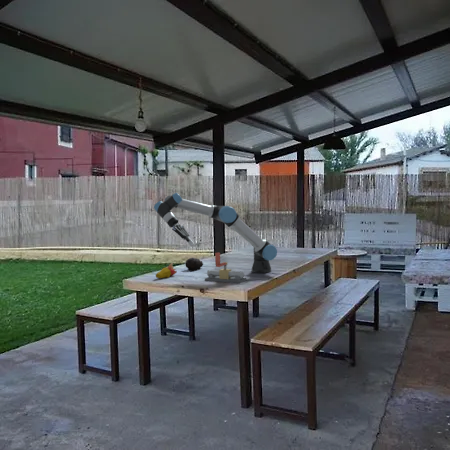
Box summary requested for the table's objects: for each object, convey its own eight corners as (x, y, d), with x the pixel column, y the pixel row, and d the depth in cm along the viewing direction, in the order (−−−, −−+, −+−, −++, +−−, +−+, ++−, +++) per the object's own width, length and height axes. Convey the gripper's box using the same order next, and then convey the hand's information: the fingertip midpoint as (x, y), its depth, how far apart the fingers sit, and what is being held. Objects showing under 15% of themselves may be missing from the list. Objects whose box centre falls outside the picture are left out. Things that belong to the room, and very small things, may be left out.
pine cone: (204, 268, 396) (204, 256, 396) (195, 271, 380) (194, 258, 379) (193, 267, 400) (193, 255, 400) (183, 270, 384) (183, 258, 383)
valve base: (212, 278, 347) (211, 263, 347) (246, 280, 337) (245, 264, 336) (204, 280, 336) (204, 265, 336) (239, 282, 326) (239, 267, 325)
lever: (224, 264, 338) (223, 250, 338) (228, 264, 337) (228, 250, 336) (214, 267, 324) (214, 252, 324) (219, 267, 323) (218, 253, 322)
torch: (156, 285, 343) (172, 275, 366) (164, 280, 340) (180, 270, 363) (150, 275, 343) (167, 265, 366) (158, 270, 340) (175, 261, 363)
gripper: (172, 223, 343) (193, 247, 338) (162, 224, 331) (184, 249, 326) (179, 215, 341) (200, 240, 335) (169, 216, 329) (191, 241, 323)
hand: (192, 244), depth 330 cm, fingers closed
